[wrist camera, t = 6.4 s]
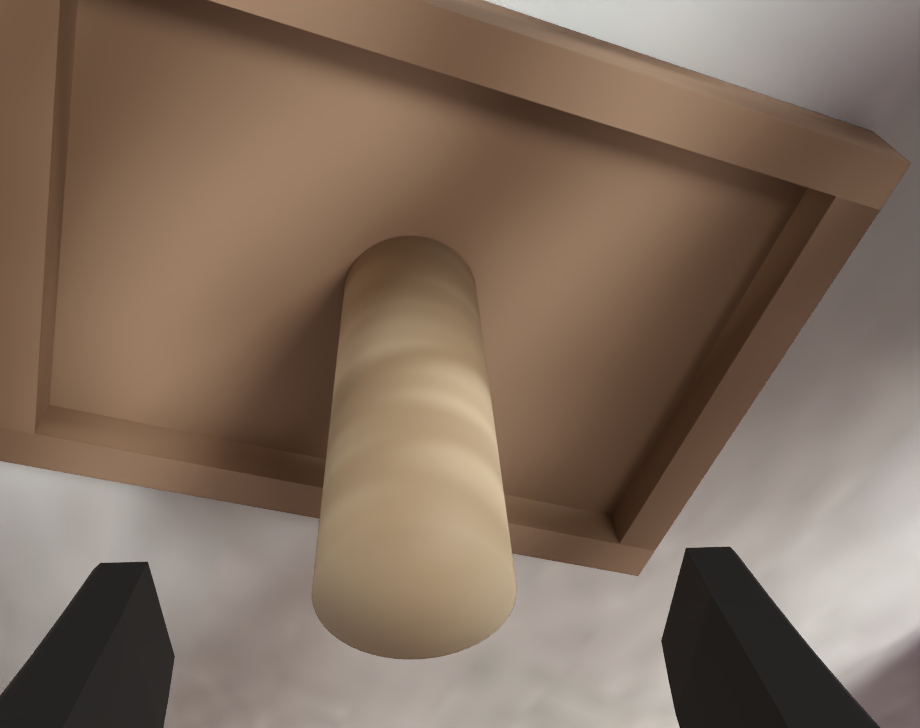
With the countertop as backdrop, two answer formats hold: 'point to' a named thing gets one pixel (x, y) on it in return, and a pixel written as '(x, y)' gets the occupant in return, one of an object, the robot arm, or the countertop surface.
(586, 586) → the countertop surface
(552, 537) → the tray
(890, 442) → the countertop surface
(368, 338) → the pin
